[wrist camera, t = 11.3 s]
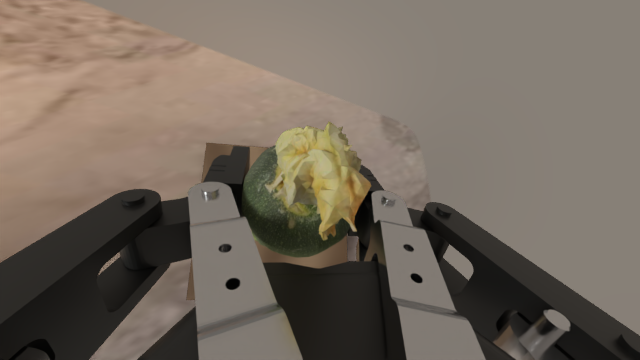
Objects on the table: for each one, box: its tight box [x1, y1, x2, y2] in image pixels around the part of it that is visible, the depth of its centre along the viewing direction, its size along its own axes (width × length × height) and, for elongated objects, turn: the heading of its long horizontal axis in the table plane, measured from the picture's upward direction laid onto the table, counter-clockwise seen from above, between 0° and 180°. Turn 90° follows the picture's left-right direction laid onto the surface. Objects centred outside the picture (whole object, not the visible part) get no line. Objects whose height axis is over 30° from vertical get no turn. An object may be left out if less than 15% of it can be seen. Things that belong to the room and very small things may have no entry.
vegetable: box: [242, 122, 371, 258], centre depth 13 cm, size 4×4×20 cm
